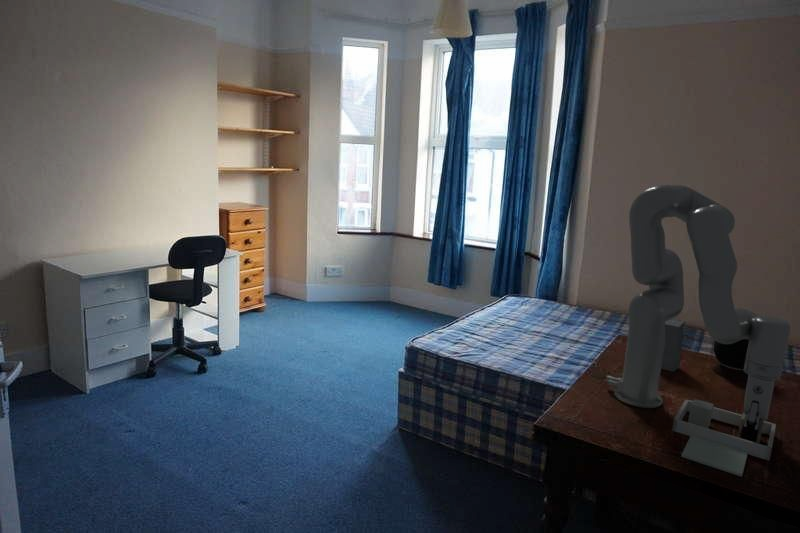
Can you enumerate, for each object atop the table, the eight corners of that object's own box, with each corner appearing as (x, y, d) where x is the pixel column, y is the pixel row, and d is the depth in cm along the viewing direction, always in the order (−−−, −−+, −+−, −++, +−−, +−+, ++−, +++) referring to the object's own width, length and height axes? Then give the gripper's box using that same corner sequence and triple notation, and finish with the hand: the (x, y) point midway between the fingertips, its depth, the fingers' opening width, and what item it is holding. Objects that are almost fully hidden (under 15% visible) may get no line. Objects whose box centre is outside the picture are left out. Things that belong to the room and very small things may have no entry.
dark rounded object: (756, 373, 179) (765, 329, 176) (755, 386, 169) (765, 340, 166) (711, 363, 187) (718, 321, 183) (707, 375, 176) (715, 330, 173)
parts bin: (672, 430, 138) (673, 419, 137) (684, 409, 150) (685, 399, 150) (769, 460, 126) (771, 449, 125) (773, 435, 138) (775, 424, 138)
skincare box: (679, 367, 181) (687, 322, 177) (673, 373, 175) (680, 326, 172) (652, 360, 186) (659, 315, 183) (645, 365, 181) (652, 320, 178)
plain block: (687, 426, 141) (691, 404, 140) (690, 419, 144) (694, 398, 143) (706, 432, 138) (711, 410, 137) (709, 425, 142) (713, 404, 140)
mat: (681, 456, 126) (681, 454, 126) (690, 436, 135) (691, 434, 135) (741, 476, 119) (742, 474, 119) (747, 454, 128) (747, 452, 128)
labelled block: (736, 441, 134) (741, 417, 133) (738, 434, 138) (743, 411, 137) (758, 447, 132) (763, 424, 130) (759, 440, 135) (764, 417, 134)
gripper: (779, 383, 122) (764, 457, 126) (783, 362, 136) (769, 429, 139) (740, 374, 126) (727, 445, 130) (748, 354, 140) (735, 419, 144)
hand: (749, 436), depth 135 cm, fingers open, 5 cm apart
